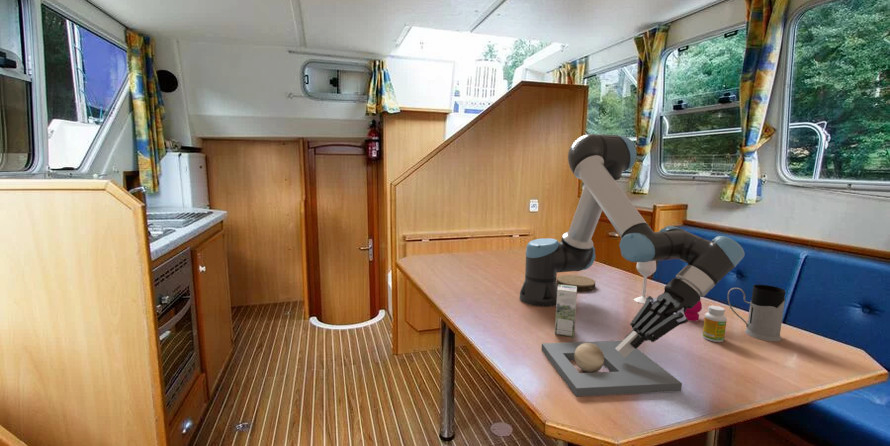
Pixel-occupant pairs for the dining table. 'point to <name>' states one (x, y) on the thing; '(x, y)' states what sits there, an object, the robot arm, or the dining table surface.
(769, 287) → the glass holder
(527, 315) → the dining table surface
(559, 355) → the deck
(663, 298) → the robot arm
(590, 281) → the wood slice
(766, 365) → the dining table surface
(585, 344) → the tan round lump
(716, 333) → the supplement bottle
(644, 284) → the champagne flute
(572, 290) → the syrup box
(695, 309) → the pepper mill
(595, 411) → the dining table surface
